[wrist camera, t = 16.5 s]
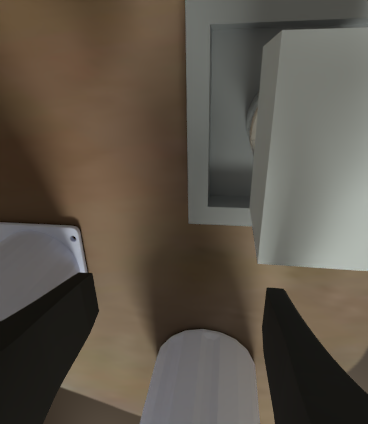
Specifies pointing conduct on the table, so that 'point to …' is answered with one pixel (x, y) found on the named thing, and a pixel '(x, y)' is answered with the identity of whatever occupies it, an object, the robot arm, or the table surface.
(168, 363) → the soap bottle
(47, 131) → the table surface
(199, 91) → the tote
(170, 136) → the table surface
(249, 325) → the table surface
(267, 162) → the pale upright block
